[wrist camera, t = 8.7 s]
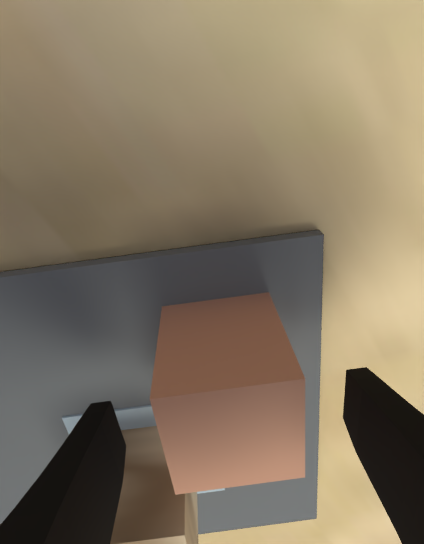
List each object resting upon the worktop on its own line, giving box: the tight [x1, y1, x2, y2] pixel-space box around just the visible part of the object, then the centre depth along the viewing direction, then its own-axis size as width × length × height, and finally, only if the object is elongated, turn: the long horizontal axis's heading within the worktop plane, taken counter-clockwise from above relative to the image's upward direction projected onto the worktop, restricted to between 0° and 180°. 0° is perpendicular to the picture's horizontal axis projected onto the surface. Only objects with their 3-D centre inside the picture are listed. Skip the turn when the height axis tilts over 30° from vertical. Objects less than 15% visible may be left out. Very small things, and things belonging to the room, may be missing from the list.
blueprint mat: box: [0, 230, 324, 534], centre depth 16 cm, size 17×17×1 cm
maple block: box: [110, 426, 198, 544], centre depth 14 cm, size 4×4×4 cm
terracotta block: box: [150, 292, 305, 495], centre depth 12 cm, size 4×4×4 cm
